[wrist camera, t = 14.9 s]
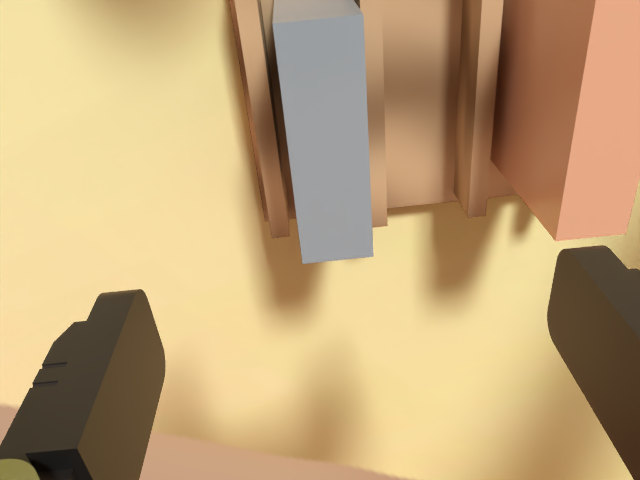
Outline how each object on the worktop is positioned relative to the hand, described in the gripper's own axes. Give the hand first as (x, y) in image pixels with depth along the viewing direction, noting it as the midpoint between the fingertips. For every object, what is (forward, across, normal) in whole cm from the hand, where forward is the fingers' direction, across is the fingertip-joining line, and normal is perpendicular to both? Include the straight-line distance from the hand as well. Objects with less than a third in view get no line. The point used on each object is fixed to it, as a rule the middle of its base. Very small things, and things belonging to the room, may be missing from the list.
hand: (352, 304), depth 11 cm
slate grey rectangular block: (+11, 0, 0) cm, 11 cm away
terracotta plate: (+12, -9, 0) cm, 15 cm away
